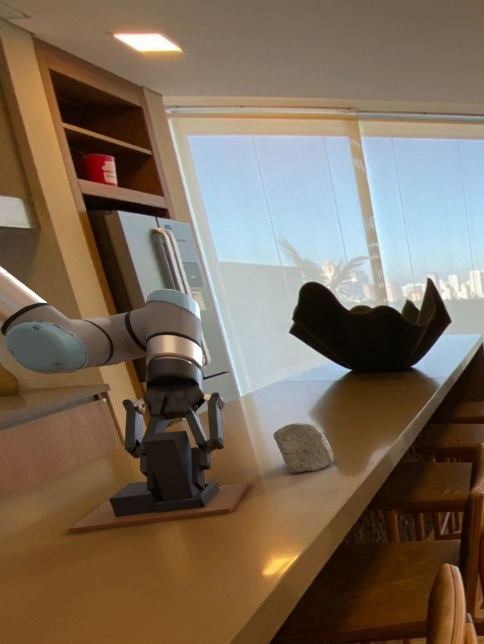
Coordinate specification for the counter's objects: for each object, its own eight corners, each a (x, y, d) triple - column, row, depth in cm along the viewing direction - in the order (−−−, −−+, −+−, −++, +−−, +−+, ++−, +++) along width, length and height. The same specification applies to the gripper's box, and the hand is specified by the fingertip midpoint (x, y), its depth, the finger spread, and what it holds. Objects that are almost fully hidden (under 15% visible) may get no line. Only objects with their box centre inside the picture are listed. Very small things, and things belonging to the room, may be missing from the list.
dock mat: (71, 535, 83) (60, 509, 82) (111, 503, 95) (102, 481, 94) (231, 514, 90) (223, 490, 89) (249, 487, 102) (243, 466, 101)
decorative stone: (322, 476, 107) (338, 428, 110) (257, 461, 104) (275, 411, 106) (330, 490, 119) (344, 446, 121) (272, 476, 115) (288, 431, 118)
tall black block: (165, 508, 90) (142, 441, 86) (177, 496, 95) (156, 433, 91) (195, 505, 91) (174, 438, 87) (206, 493, 96) (186, 430, 92)
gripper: (244, 379, 103) (251, 491, 95) (121, 388, 97) (118, 508, 89) (228, 352, 97) (234, 470, 89) (95, 359, 90) (89, 487, 82)
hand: (176, 489), depth 89 cm, fingers open, 5 cm apart
